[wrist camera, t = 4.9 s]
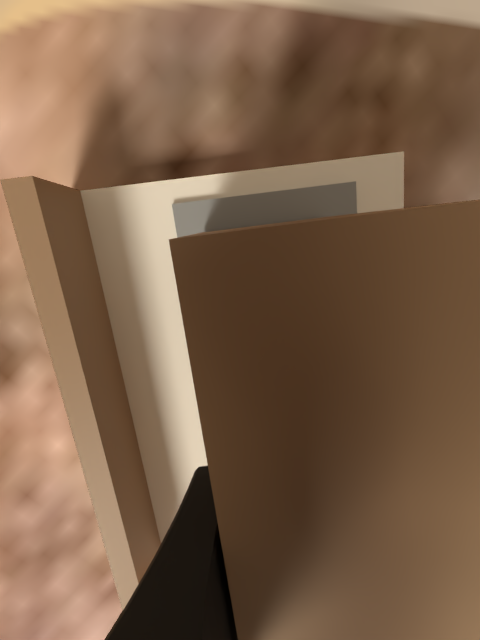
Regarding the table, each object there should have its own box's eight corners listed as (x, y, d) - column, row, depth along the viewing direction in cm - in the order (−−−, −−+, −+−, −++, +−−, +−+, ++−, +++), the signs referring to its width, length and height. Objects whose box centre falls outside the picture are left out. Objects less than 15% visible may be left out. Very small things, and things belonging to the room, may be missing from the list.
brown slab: (332, 216, 12) (550, 191, 4) (344, 496, 15) (479, 784, 7) (202, 232, 12) (168, 239, 4) (242, 512, 15) (269, 821, 7)
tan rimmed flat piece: (389, 157, 13) (465, 124, 9) (392, 506, 17) (444, 588, 13) (69, 196, 12) (0, 179, 8) (151, 541, 16) (130, 637, 13)
